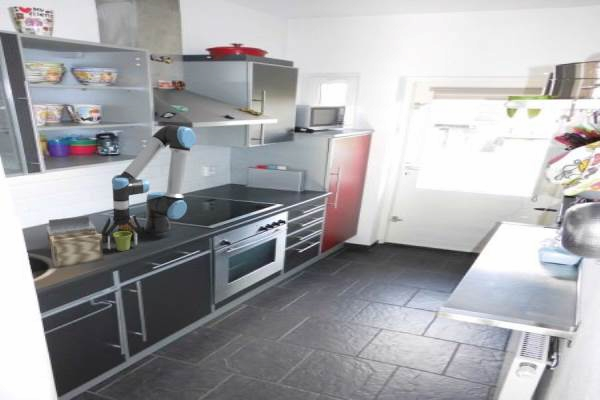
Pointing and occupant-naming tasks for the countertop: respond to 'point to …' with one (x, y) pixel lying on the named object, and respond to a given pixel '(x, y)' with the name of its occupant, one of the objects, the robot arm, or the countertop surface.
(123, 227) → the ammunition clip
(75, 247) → the housing
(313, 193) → the countertop surface
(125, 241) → the plant pot
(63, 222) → the lid
